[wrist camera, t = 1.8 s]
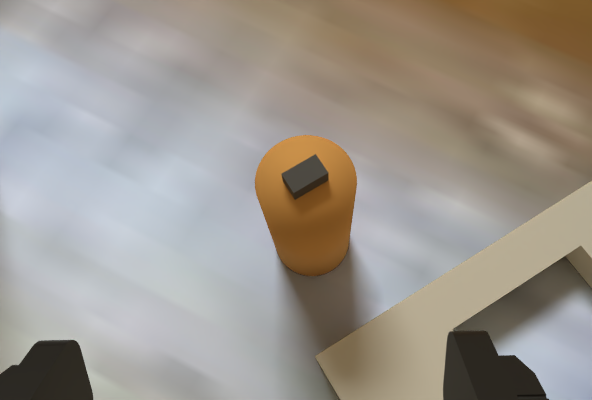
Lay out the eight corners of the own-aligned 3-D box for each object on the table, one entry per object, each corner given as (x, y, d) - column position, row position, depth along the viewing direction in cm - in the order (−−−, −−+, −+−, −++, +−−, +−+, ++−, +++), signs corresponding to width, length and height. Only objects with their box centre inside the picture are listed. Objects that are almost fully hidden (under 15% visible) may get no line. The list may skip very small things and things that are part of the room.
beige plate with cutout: (437, 564, 30) (450, 585, 27) (315, 358, 34) (314, 354, 31) (725, 357, 33) (769, 353, 30) (580, 190, 37) (604, 171, 34)
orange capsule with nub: (299, 290, 36) (286, 243, 25) (262, 228, 38) (233, 158, 26) (363, 251, 37) (378, 188, 25) (323, 192, 38) (321, 109, 27)
